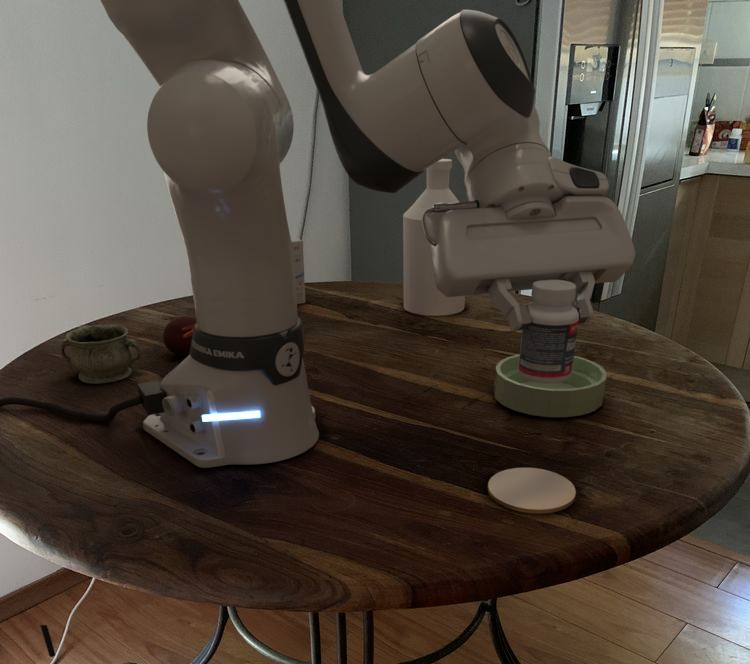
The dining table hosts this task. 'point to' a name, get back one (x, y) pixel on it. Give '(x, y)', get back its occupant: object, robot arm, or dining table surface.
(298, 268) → the ink box
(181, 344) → the red tomato
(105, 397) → the dining table surface
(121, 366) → the vessel
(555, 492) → the coaster
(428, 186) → the bottle
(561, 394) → the bowl
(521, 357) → the pill bottle
